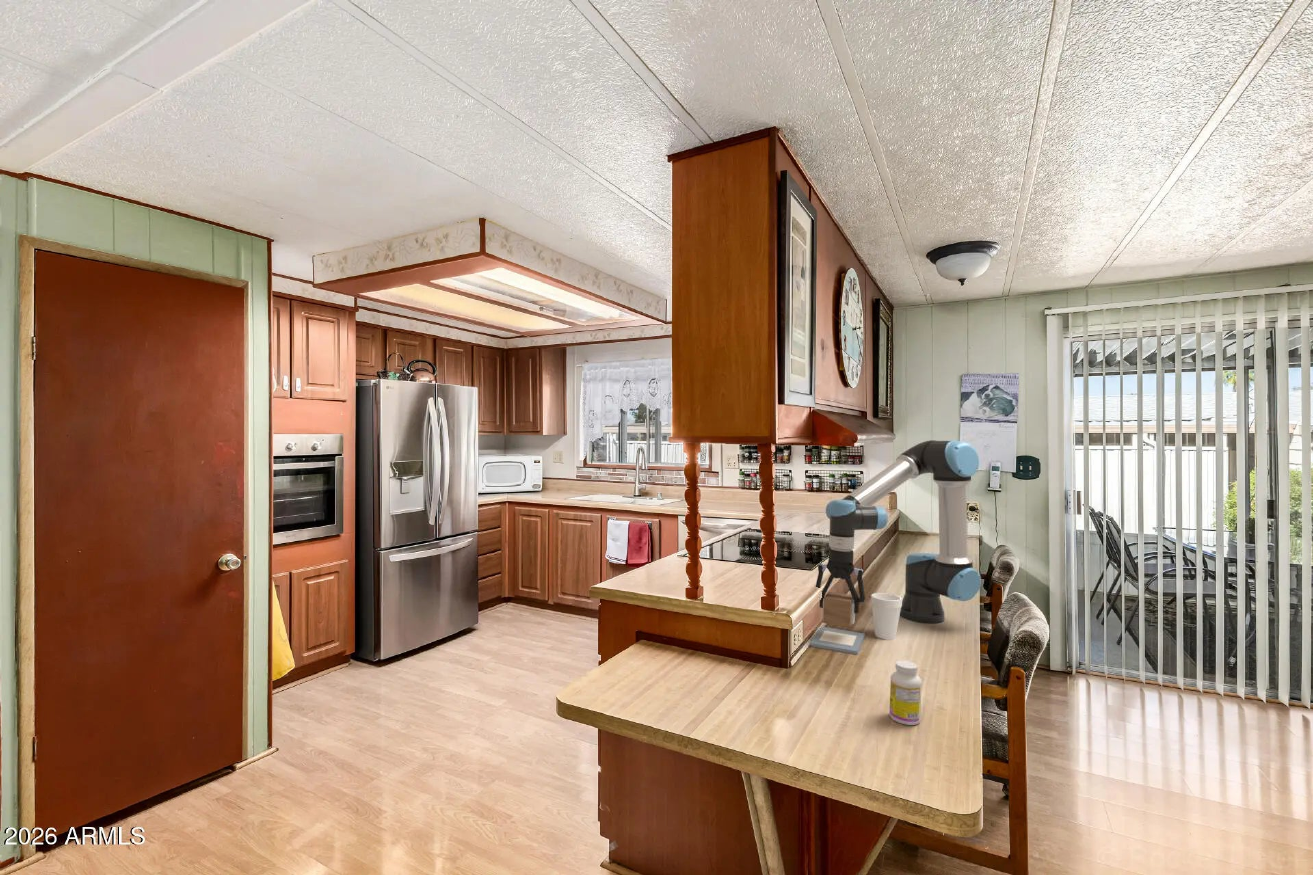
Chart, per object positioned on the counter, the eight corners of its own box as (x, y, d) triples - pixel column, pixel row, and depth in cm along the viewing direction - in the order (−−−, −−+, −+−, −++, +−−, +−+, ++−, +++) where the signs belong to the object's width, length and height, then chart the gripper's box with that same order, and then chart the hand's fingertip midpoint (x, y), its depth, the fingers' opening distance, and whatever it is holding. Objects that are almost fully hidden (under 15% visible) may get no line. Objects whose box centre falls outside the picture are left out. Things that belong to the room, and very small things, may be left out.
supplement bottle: (894, 709, 143) (896, 656, 142) (923, 718, 138) (925, 663, 138) (885, 719, 137) (887, 664, 137) (915, 729, 133) (917, 672, 133)
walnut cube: (827, 616, 194) (828, 591, 194) (853, 620, 191) (854, 595, 190) (823, 622, 187) (824, 597, 187) (849, 627, 183) (850, 601, 183)
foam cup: (863, 633, 197) (865, 594, 197) (884, 630, 201) (885, 591, 201) (885, 642, 189) (887, 602, 189) (907, 639, 193) (908, 599, 192)
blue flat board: (820, 629, 200) (820, 625, 200) (864, 636, 194) (864, 633, 194) (810, 646, 184) (810, 642, 184) (857, 654, 178) (857, 650, 178)
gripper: (805, 546, 190) (802, 618, 190) (874, 554, 181) (871, 629, 181) (810, 543, 196) (807, 611, 197) (877, 550, 187) (874, 622, 188)
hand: (838, 620), depth 189 cm, fingers closed on walnut cube, 8 cm apart
